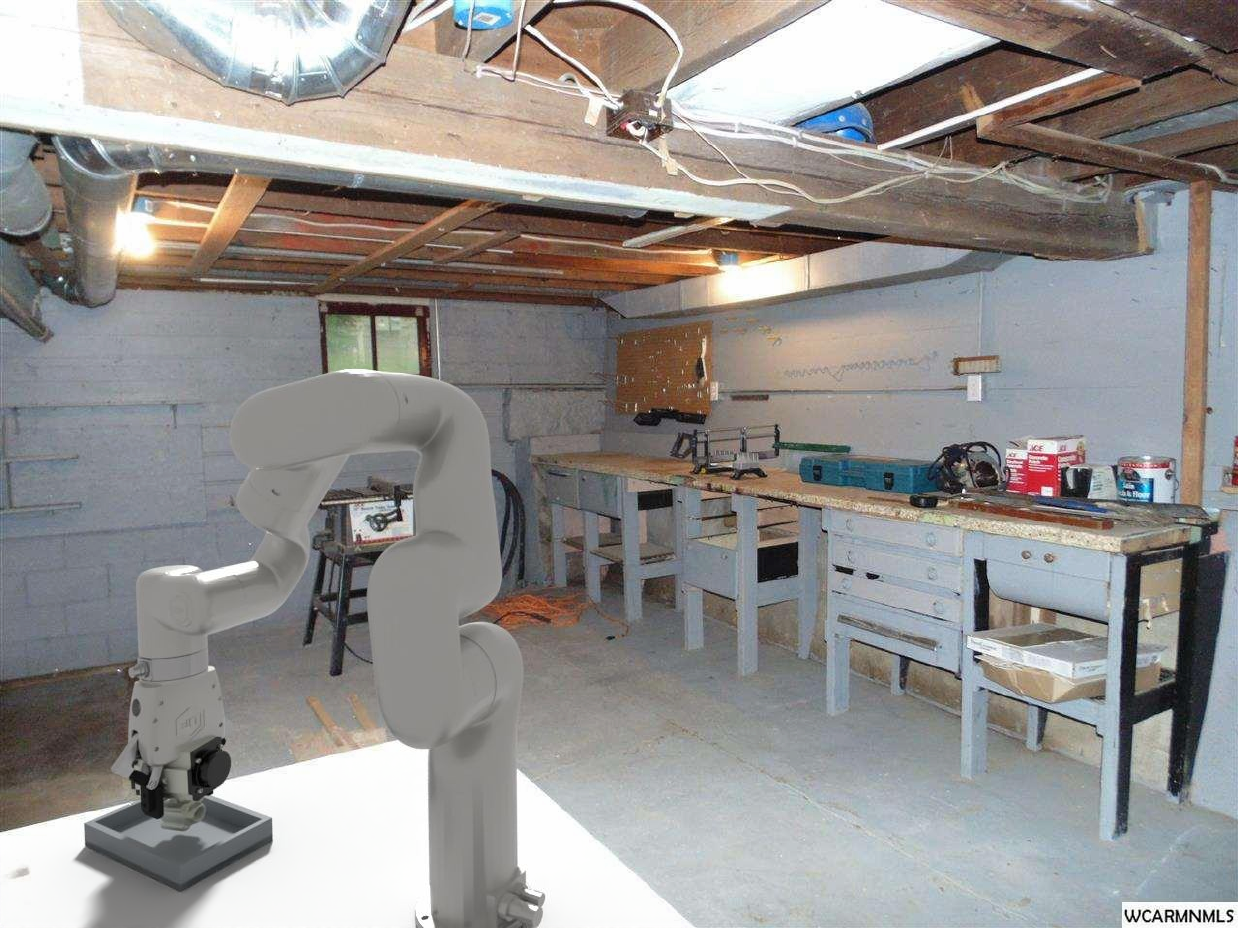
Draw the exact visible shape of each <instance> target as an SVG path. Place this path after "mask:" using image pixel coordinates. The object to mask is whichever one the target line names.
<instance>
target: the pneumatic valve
mask: <svg viewBox="0 0 1238 928" xmlns="http://www.w3.org/2000/svg"><path fill="white" fill-rule="evenodd" d="M223 749H224V746H223V745H222V737H213V738H211V739H209V740H206V741H204V742H202V743H199V744H197V745H194V746H192V747H190V748H187V749H185V750H182V751H180V752H179V755H180V758H179V759H178V760H176V761H174V762H171V763H168V764H166V765H163V768H162V772H161V775H160V778H159V782H158V785H160V786H162V787H163V799H167V798H171V799H168V800H166V801H164V815H163V817H162V818H160V819H161V820H162V821H163V822H162V823H161V825H160V826H161V828H162V829H167V830H176V831H186V830H188V829H189V828H190V826H191V825H193V824H196V823H198V822H200V821H201V820H202V819H203V818H204V817H205V813H206V807H205V805H204V804H203V803H201V801H202V800H203V797H204V796H206V795H207V794H209V793H210V792H211V791H213V792H214V790H215V789H218V788H219V787H220V786H222V785H223V784H225V781H226V780H227V779H228V777H229V774H230V772H231V769H232V768H231V767H232V758H231V754H229V752H227V751H226V750H223ZM140 763H141V760H138V761H136V760H134V761H133V762H132V765H131V766H132V768H134V769H136V770H139V766H140ZM150 768H151V766H150V767H149V772H150ZM130 785H131V786H130V787H131V790H135V795H136V796H141V789H140V785H137V784H136V783H134V782H132V781H130Z"/></svg>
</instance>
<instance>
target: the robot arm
mask: <svg viewBox="0 0 1238 928" xmlns="http://www.w3.org/2000/svg"><path fill="white" fill-rule="evenodd" d="M229 443H230V447H231V450H232V452H233V454H234V455H235V457H236V458H237V460H239V461H240V462H241V463H242V464H243V465H245V466H246V467H248V468H250V470H249V472H248V474H247V476H246V477H245V479H244V481H243V482H242V484H241V486H240V487H239V489H238V491H237V493H236V495H235V496H236V499H235V503H236V506H237V509H238V511H239V512H240V514H241V515H242V517H243V518H244V519H246V520H247V521H248V522H249V523H250V524H252V525H253V526H255V527H256V528H258V529H259V530H261V531H263V532H265V535H264V537H263V539H262V541H261V543H260V544H259V545H258V548H257V549H256V551H255V552H254V554H253V555H252V556H251V558H250V560H248V561H245V562H240V563H235V564H231V565H228V566H227V565H226V566H223V567H222V566H221V567H218V568H214V569H210V570H205V571H204V570H203V569H202V568H200V567H198V566H194V565H190V564H185V565H184V564H177V565H176V564H175V565H165V566H158V567H154V568H149V569H147V570H144V571H143V572H141V573H140V574H139V575H138V577H137V579H136V583H135V593H136V594H135V595H136V619H137V621H136V622H137V623H136V624H137V643H138V645H137V648H138V649H137V651H138V657H137V664H135V665H133V666H132V667H131V666H130V667H129V668H128V675H129V677H130V678H131V679H134V678H138V679H139V680H137V681H135V682H134V685H133V689H132V693H131V699H130V705H129V706H130V707H129V713H128V714H129V716H128V728H127V729H128V731H127V732H128V736H127V740H128V743H127V744H126V746H125V747H124V749H123V750H122V752H121V753H120V754H119V756H118V757H117V758H116V760H115V761H114V763H112V766H111V767H110V772H111V773H113V774H115V775H117V776H120V777H121V778H124V779H127V780H128V781H130V782H131V781H132V782H134V783H136V784H137V785H140V789H141V795H140V799H141V809H142V811H143V812H144V814H145V815H147V816H150V817H152V818H155V819H160V818H162V817H163V815H164V801H163V787H162V786H160V785H158V782H159V778H160V775H161V772H162V768H163V765H166V764H168V763H171V762H174V761H176V760H178V759H179V758H180V755H179V752H180V751H182V750H185V749H187V748H190V747H192V746H194V745H197V744H199V743H202V742H204V741H206V740H209V739H211V738H213V737H222V745H223V747H224V746H225V745H226V743H227V740H228V739H229V738H230V736H231V735H232V733H233V732H234V730H235V729H236V724H235V723H234V722H232V720H230V719H228V718H227V717H226V716H225V709H224V701H223V700H224V699H223V694H222V690H221V686H220V685H221V684H220V681H219V677H218V674H217V673H218V672H217V671H216V668H215V667H214V666H213V665H209V645H208V644H209V643H208V641H209V639H208V636H209V635H212V634H213V635H214V634H216V633H220V632H223V631H226V630H230V629H232V628H234V627H237V626H239V625H243V624H247V623H249V622H254V621H257V620H259V619H260V620H261V619H262V618H265V617H267V616H270V615H271V614H273V613H275V612H276V611H277V610H278V609H280V607H282V605H283V604H284V603H285V602H286V601H287V600H288V598H289V597H290V595H291V594H292V592H293V591H294V589H295V588H296V586H297V584H298V583H299V581H300V580H301V578H302V577H303V575H304V573H305V571H306V568H307V566H308V564H309V561H310V555H311V554H310V553H311V536H310V531H309V527H308V526H309V525H308V524H309V522H310V521H311V519H312V517H313V516H314V515H315V513H316V511H317V510H318V508H319V506H320V504H321V503H322V501H323V500H324V498H325V496H326V495H327V493H328V491H329V489H330V488H331V486H332V485H333V484H334V482H335V480H336V479H337V477H338V476H339V474H340V472H341V470H342V469H343V467H344V466H345V464H346V462H347V461H348V459H349V457H350V456H353V455H354V456H355V455H362V454H364V455H365V454H375V453H376V454H378V453H380V454H381V453H394V452H396V453H397V452H404V451H405V452H406V451H411V452H415V453H418V455H419V462H418V464H417V467H416V471H415V474H414V479H413V485H412V486H413V487H412V500H413V508H414V515H415V516H414V517H415V535H413V536H409V537H406V538H403V539H400V540H398V541H396V542H395V543H393V544H391V545H389V546H388V547H387V548H385V550H384V551H383V552H382V553H381V554H380V556H378V558H377V559H376V561H375V562H374V565H373V566H372V569H371V572H370V574H369V578H368V583H367V588H366V590H367V591H366V608H367V619H368V620H367V621H368V627H369V629H368V630H369V638H370V647H371V655H372V656H371V657H372V665H373V667H372V668H373V676H374V684H375V685H374V686H375V692H376V698H377V703H378V708H379V711H380V714H381V717H382V719H383V721H384V724H385V726H386V728H387V729H388V731H389V732H390V734H392V736H393V737H394V738H395V739H396V740H398V741H399V742H400V743H402V744H403V745H405V746H407V747H409V748H410V749H411V748H412V749H415V750H428V755H427V798H428V799H427V801H428V803H427V805H428V808H427V810H428V812H427V813H428V819H427V820H428V865H429V866H428V867H429V868H428V869H429V871H428V873H429V875H428V876H429V877H428V879H429V885H428V886H427V887H426V888H425V889H424V890H423V891H422V893H421V894H420V895H419V896H418V898H417V901H416V903H415V907H414V921H415V926H416V928H521V927H522V926H523V925H526V926H529V927H531V928H538V927H539V925H540V924H541V922H542V919H543V913H544V910H543V907H542V906H543V905H544V903H545V901H546V894H545V893H544V892H541V891H538V890H535V889H531V888H530V885H529V883H528V882H527V869H526V868H522V867H520V866H518V863H519V862H518V861H519V860H518V779H517V778H518V773H517V772H518V725H519V715H520V707H521V702H522V701H521V700H522V693H523V686H524V685H523V684H524V662H523V661H524V660H523V657H522V656H523V655H522V652H521V649H520V647H519V645H518V643H517V641H516V640H515V638H514V637H513V636H512V635H511V634H510V632H508V630H506V629H505V628H504V627H501V626H499V625H498V624H495V623H492V622H487V621H477V622H475V621H474V622H469V623H465V624H462V625H460V620H461V619H464V618H465V617H468V616H471V615H473V614H474V613H476V612H478V611H480V610H482V609H483V608H484V607H487V606H488V605H489V604H491V603H492V602H493V600H494V599H495V598H496V597H497V596H498V594H499V592H500V589H501V586H502V581H503V568H502V566H503V565H502V559H501V547H500V540H499V539H500V538H499V527H498V519H497V510H496V509H497V507H496V501H495V500H496V499H495V495H494V487H493V485H494V484H493V480H492V479H493V478H492V463H491V462H492V461H491V458H492V457H491V445H490V443H491V441H490V435H489V429H488V425H487V422H486V419H485V417H484V415H483V412H482V411H481V409H480V407H479V406H478V404H477V403H476V402H475V400H474V399H473V398H472V397H471V396H469V394H468V393H466V392H465V391H463V390H462V389H460V388H458V387H457V386H455V385H454V384H451V383H449V382H445V381H443V380H440V379H437V378H434V377H429V376H423V375H418V374H413V373H412V374H410V373H402V372H389V371H380V370H371V369H358V368H357V369H356V368H354V369H353V368H352V369H343V370H341V369H340V370H337V371H331V372H327V373H324V374H319V375H317V376H313V377H309V378H305V379H302V380H297V381H294V382H293V381H292V382H290V383H287V384H282V385H279V386H274V387H271V388H267V389H264V390H261V391H258V392H257V393H255V394H253V395H251V396H249V397H248V398H247V399H246V400H244V402H242V404H241V405H240V406H238V409H237V410H236V411H235V414H234V415H233V417H232V419H231V422H230V427H229ZM134 760H136V761H138V760H141V763H140V766H139V770H136V769H134V768H132V766H131V765H132V762H133V761H134ZM150 766H151V768H150V772H149V767H150ZM213 794H214V790H213V791H211V792H210V793H209V794H207V795H206V796H210V795H212V796H213Z"/></svg>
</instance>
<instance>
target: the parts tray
mask: <svg viewBox="0 0 1238 928" xmlns="http://www.w3.org/2000/svg"><path fill="white" fill-rule="evenodd" d="M168 799H171V798H167V799H163V801H166V800H168ZM201 803H203V804H204V805H205V807H206V813H205V817H204V818H203V819H202V820H201V821H200V822H198V823H196V824H193V825H191V826H190V828H189V829H188V830H186V831H176V830H167V829H162V828H161V826H160V825H161V823H162V822H163V821H162V820H161V819H155V818H152V817H150V816H147V815H145V814H144V812H143V811H142V809H141V798H140V799H138V800H136V801H133V802H130V803H127V804H126V805H123V806H121V807H119V808H116V809H114V810H112V811H110V812H107V813H105V814H103V815H99V816H97V817H96V818H93V819H91V820H88V821H86V822H84V823H83V825H84V846H85V847H86V848H88V849H90V850H92V851H94V852H96V853H98V854H101V855H102V856H105V855H106V856H105V857H107V858H109V859H111V860H113V861H115V862H118V863H119V864H122V865H123V866H126V867H128V868H130V869H133V870H134V871H135V872H136V871H137V872H138V873H141V874H142V875H145V876H146V877H149V878H151V879H152V880H155V881H157V882H159V883H160V884H163V885H166V886H168V887H170V888H172V889H174V890H175V891H178V892H181V893H182V892H183V891H185V890H186V889H188V888H190V887H192V886H193V885H195V884H197V883H199V882H201V881H202V880H204V879H206V878H208V877H210V876H211V875H213V874H215V873H217V872H218V871H220V870H222V869H224V868H226V867H228V866H230V865H231V864H233V863H235V862H237V861H238V860H240V859H242V858H243V857H246V856H247V855H249V854H251V853H253V852H255V851H256V850H258V849H260V848H262V847H263V846H265V845H267V844H269V843H270V842H273V841H274V839H273V837H274V836H273V835H274V834H273V817H272V816H268V815H267V814H263V813H261V812H258V811H255V810H253V809H250V808H247V807H244V806H242V805H239V804H236V803H233V802H230V801H228V800H225V799H222V798H219V797H217V796H214V795H213V794H212V795H210V796H204V797H203V800H202V801H201ZM129 804H131V805H129Z"/></svg>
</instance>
